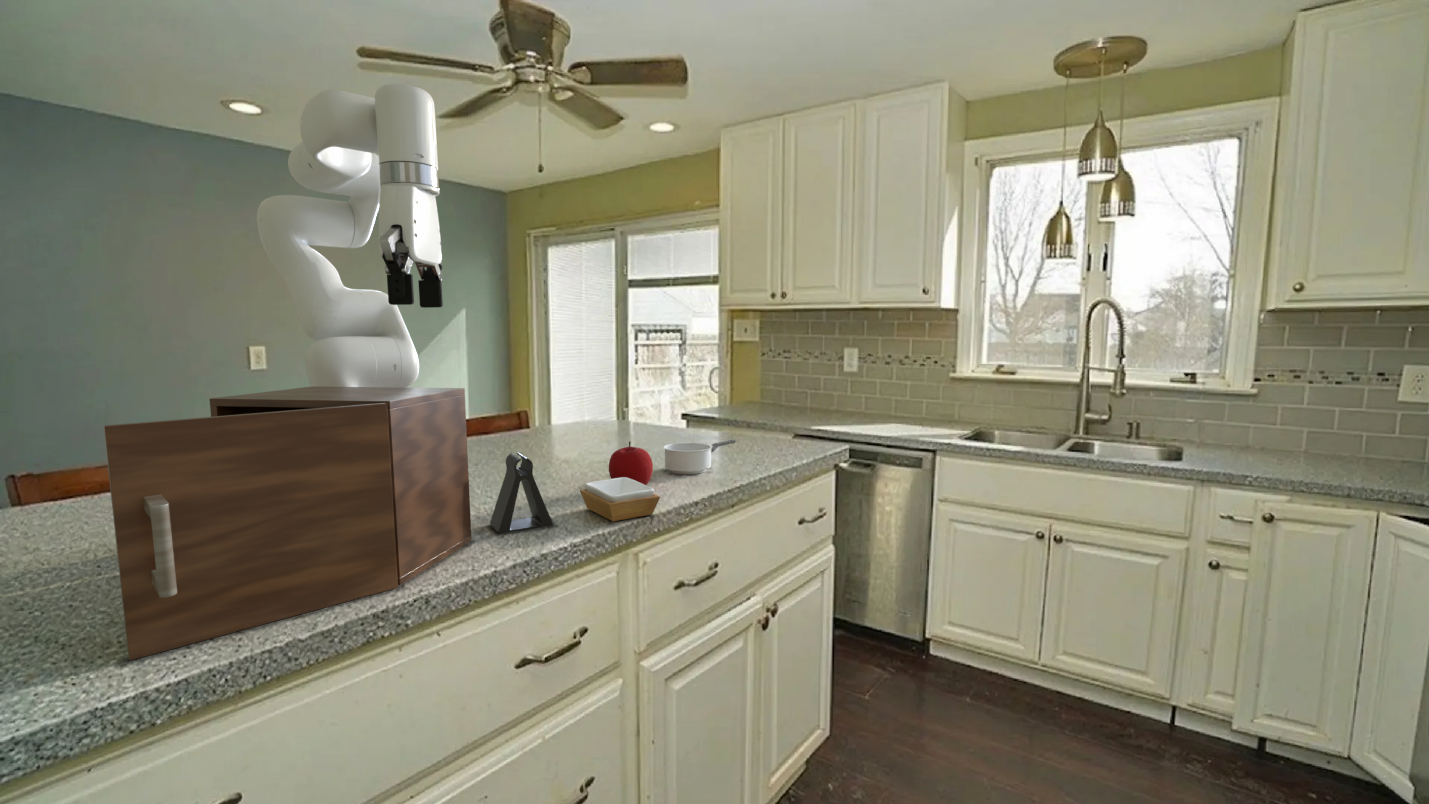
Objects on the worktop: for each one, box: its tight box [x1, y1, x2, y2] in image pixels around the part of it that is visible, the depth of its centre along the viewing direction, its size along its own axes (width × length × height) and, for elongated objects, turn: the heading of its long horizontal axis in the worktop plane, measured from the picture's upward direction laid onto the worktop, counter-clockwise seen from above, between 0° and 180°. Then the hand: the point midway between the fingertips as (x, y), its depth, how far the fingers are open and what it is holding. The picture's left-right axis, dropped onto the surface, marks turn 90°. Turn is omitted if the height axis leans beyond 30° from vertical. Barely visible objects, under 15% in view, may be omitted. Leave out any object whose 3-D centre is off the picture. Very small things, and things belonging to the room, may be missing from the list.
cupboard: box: [209, 386, 472, 586], centre depth 96 cm, size 18×26×24 cm
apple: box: [608, 441, 654, 486], centre depth 138 cm, size 9×9×10 cm
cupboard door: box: [103, 403, 399, 661], centre depth 73 cm, size 6×26×24 cm, turn 136°
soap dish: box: [579, 477, 661, 523], centre depth 120 cm, size 12×10×5 cm
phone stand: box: [489, 452, 554, 535], centre depth 112 cm, size 9×6×12 cm, turn 120°
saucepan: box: [662, 439, 736, 475], centre depth 158 cm, size 12×20×6 cm, turn 130°
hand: (417, 306), depth 95 cm, fingers open, 9 cm apart
